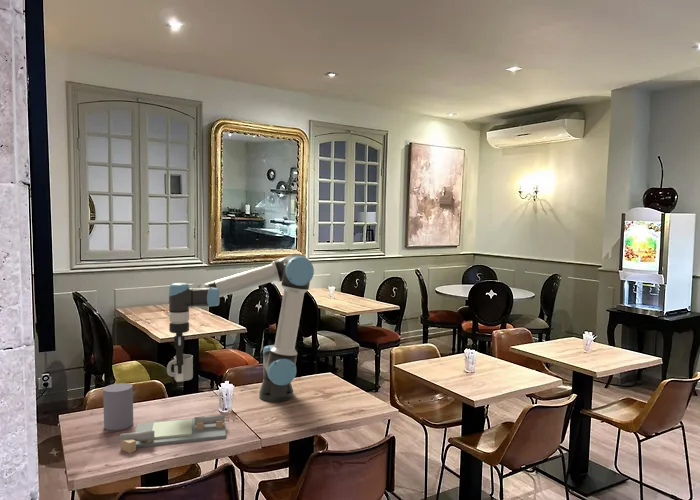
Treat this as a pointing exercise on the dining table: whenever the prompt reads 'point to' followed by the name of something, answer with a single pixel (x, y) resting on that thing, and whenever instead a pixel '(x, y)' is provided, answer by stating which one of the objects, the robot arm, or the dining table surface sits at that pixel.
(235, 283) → the robot arm
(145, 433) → the shaft rig
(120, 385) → the container
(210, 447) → the dining table surface
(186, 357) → the cup
